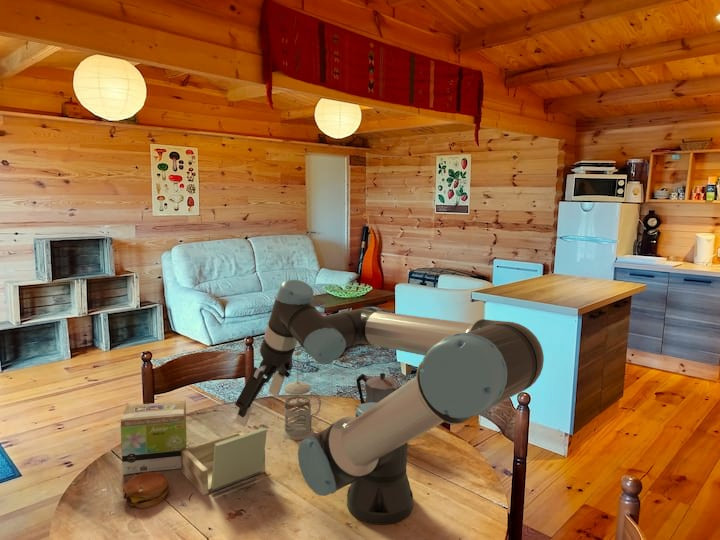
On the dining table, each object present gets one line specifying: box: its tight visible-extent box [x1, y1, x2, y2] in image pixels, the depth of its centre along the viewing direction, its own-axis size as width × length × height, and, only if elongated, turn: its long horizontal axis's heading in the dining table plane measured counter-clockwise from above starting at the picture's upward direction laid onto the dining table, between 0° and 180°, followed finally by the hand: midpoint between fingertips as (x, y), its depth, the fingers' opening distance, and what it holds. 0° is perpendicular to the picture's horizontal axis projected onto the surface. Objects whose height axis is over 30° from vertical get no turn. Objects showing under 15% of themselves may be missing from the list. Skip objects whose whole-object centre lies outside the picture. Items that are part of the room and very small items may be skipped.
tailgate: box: [210, 427, 268, 493], centre depth 123 cm, size 13×13×1 cm
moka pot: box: [356, 372, 401, 405], centre depth 148 cm, size 10×15×20 cm, turn 58°
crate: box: [181, 430, 266, 496], centre depth 130 cm, size 13×16×6 cm
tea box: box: [120, 400, 187, 476], centre depth 133 cm, size 15×10×15 cm, turn 106°
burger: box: [122, 471, 171, 510], centre depth 119 cm, size 10×9×5 cm
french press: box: [280, 350, 322, 441], centre depth 151 cm, size 10×12×25 cm
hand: (257, 407), depth 127 cm, fingers open, 13 cm apart
